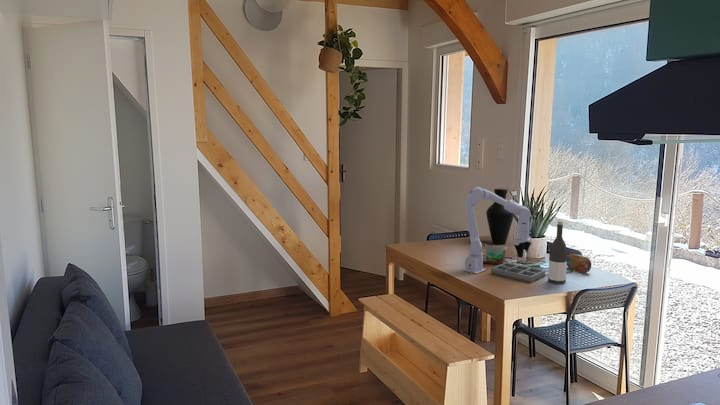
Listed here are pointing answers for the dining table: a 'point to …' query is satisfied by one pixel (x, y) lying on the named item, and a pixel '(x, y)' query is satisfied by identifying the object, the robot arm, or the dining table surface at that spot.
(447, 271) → the dining table surface
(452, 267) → the dining table surface
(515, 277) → the grey compartment tray
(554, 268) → the wine bottle
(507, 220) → the vase
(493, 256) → the food container
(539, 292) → the dining table surface
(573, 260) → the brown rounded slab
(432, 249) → the dining table surface
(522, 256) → the egg
